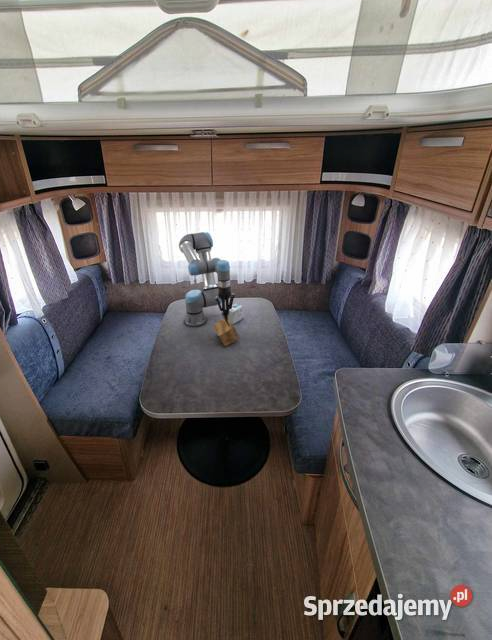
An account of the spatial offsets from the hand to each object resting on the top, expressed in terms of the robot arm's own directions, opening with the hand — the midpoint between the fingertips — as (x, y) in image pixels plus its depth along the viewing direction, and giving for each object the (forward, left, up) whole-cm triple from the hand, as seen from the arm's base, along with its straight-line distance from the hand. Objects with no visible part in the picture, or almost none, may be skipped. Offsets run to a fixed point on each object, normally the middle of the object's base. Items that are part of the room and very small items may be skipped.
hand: (226, 319), depth 180 cm
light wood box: (0, +1, -14) cm, 14 cm away
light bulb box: (-20, +13, -16) cm, 29 cm away
